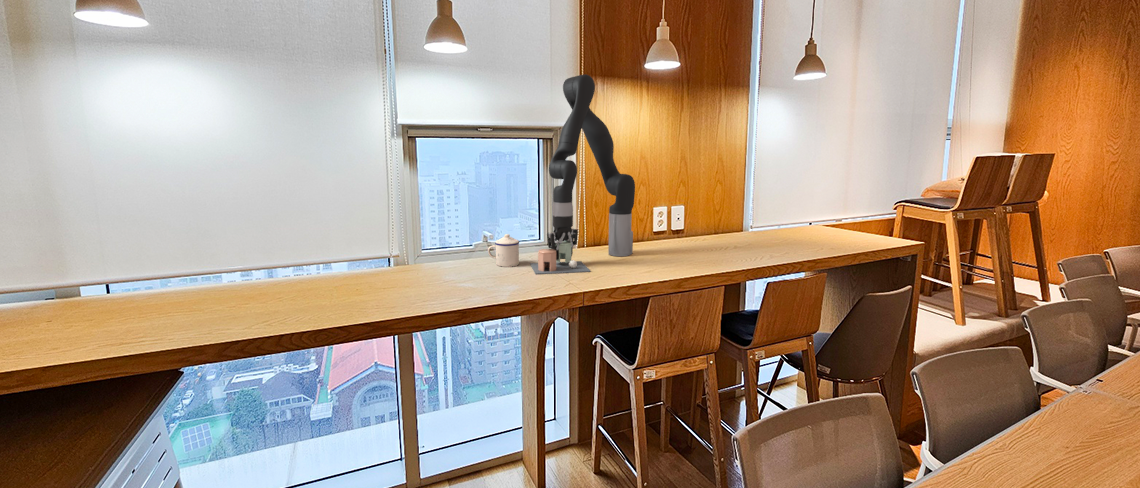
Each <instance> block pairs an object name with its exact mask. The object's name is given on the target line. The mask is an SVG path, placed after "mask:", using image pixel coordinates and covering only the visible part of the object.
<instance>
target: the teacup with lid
mask: <svg viewBox="0 0 1140 488" xmlns="http://www.w3.org/2000/svg"><path fill="white" fill-rule="evenodd" d="M519 245H520V241H519V240H518V239H515V238H514V237H512V236H511V235H510V234H509V233H507V234H506V233H505V234H504V236H503V237H500V239H496V240H495V243H494V245H490V246H489V247H488V248H487V253H488V255H489V257H490V258H492V259H495V264H496V266H497V267H501V266H502V267H501V268H509V267H510V268H513V267H518V265H519V263H520V260H519V259H520V254H519V252H520V250H519V249H520V247H519ZM491 248H495V255H493V254H492V253H491ZM512 266H513V267H512Z"/></svg>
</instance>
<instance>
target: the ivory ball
mask: <svg viewBox="0 0 1140 488" xmlns="http://www.w3.org/2000/svg"><path fill="white" fill-rule="evenodd" d="M576 266H577V262H576V260H574V259H573V260H572V259H571V261H570V262H569V267H570V268H575V267H576Z"/></svg>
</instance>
